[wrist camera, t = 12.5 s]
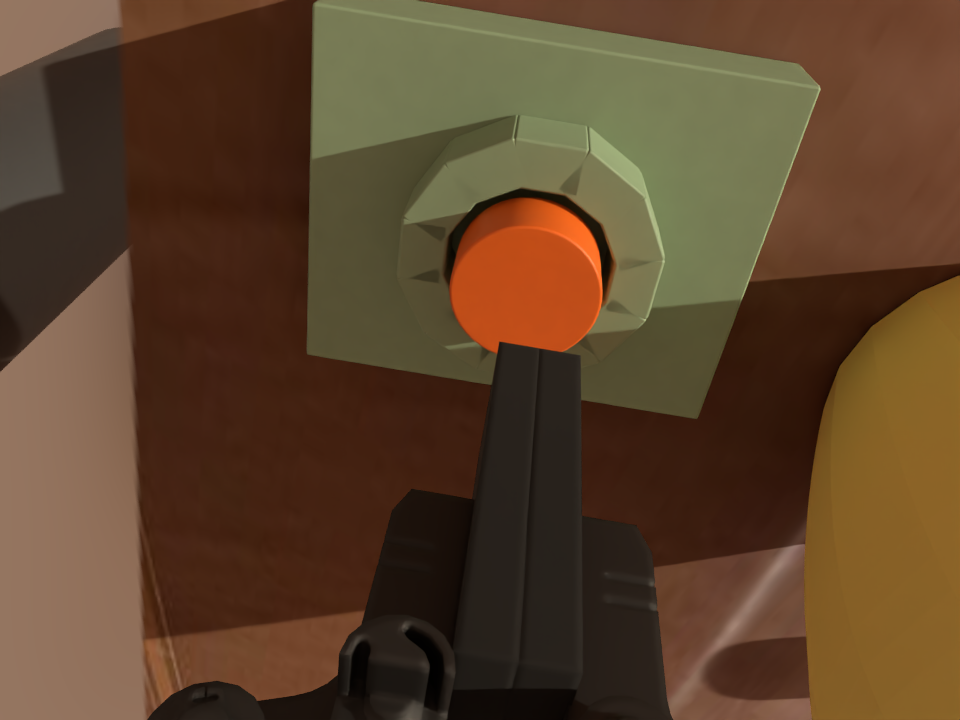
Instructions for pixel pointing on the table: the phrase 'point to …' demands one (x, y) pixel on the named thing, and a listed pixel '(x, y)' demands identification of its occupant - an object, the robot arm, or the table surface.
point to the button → (527, 276)
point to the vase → (889, 522)
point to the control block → (539, 184)
